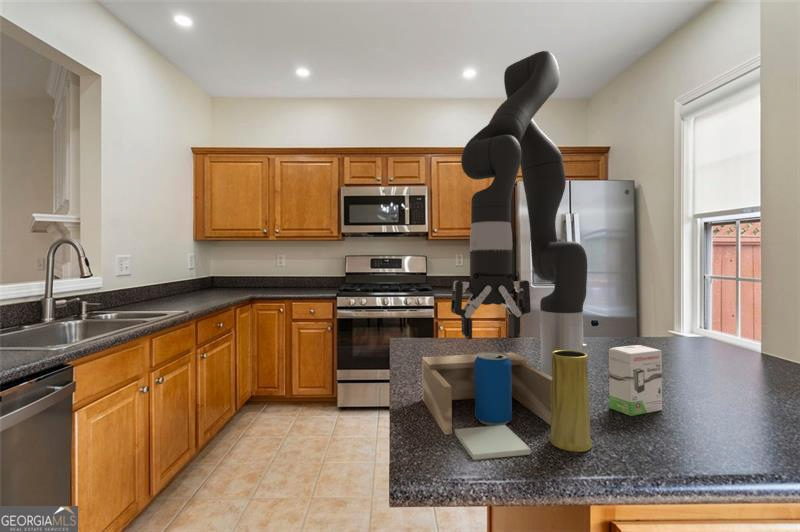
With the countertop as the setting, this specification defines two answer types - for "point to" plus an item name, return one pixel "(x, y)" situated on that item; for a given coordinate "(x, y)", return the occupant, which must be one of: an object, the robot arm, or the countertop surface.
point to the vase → (570, 401)
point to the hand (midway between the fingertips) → (490, 337)
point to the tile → (491, 442)
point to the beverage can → (493, 388)
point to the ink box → (635, 379)
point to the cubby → (457, 381)
